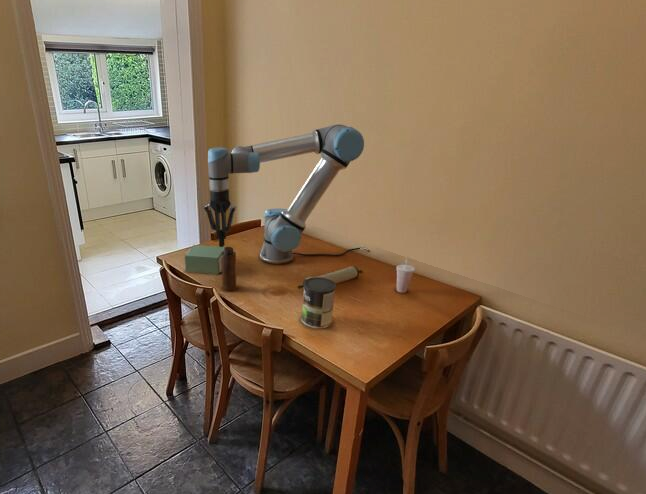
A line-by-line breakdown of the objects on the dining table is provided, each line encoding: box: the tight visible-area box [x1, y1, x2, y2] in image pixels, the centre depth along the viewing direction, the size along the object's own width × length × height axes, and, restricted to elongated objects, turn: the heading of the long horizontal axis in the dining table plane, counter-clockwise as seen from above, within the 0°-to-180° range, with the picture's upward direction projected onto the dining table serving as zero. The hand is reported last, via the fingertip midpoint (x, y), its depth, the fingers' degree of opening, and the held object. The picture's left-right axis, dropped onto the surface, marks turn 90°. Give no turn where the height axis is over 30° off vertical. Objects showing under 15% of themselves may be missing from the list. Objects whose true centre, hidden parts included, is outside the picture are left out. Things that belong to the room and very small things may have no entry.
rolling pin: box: [297, 266, 363, 289], centre depth 163 cm, size 32×6×5 cm, turn 117°
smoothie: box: [395, 256, 415, 294], centre depth 156 cm, size 6×6×14 cm
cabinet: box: [184, 244, 226, 275], centre depth 179 cm, size 15×13×8 cm
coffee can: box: [301, 276, 337, 330], centre depth 137 cm, size 10×10×14 cm
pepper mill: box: [221, 246, 237, 293], centre depth 158 cm, size 5×5×17 cm
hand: (221, 245), depth 169 cm, fingers closed
